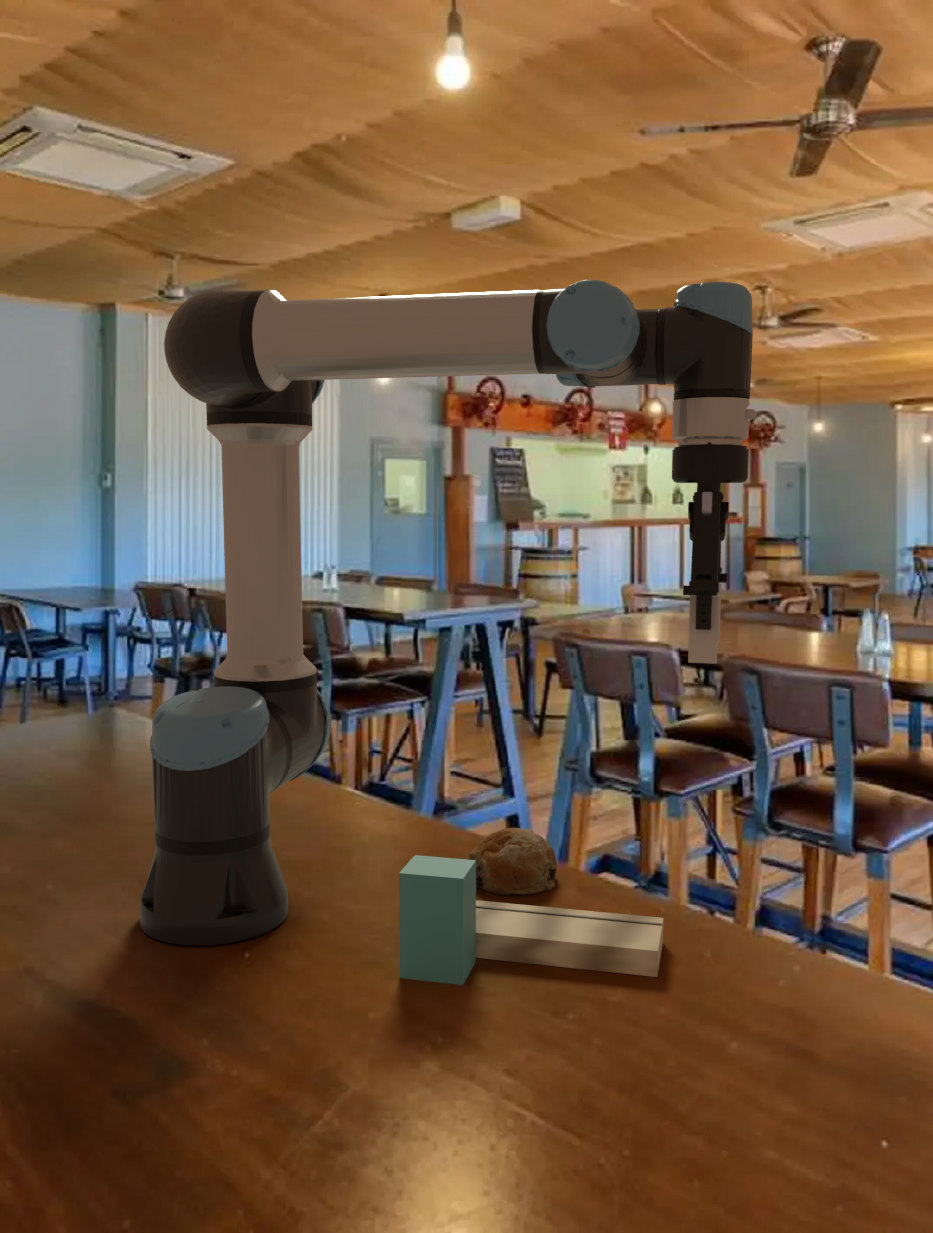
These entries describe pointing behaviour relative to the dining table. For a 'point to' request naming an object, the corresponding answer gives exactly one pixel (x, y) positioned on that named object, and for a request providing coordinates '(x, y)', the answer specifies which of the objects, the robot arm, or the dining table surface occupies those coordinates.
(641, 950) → the plank
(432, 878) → the teal boxy piece
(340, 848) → the dining table surface
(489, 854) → the bread roll
